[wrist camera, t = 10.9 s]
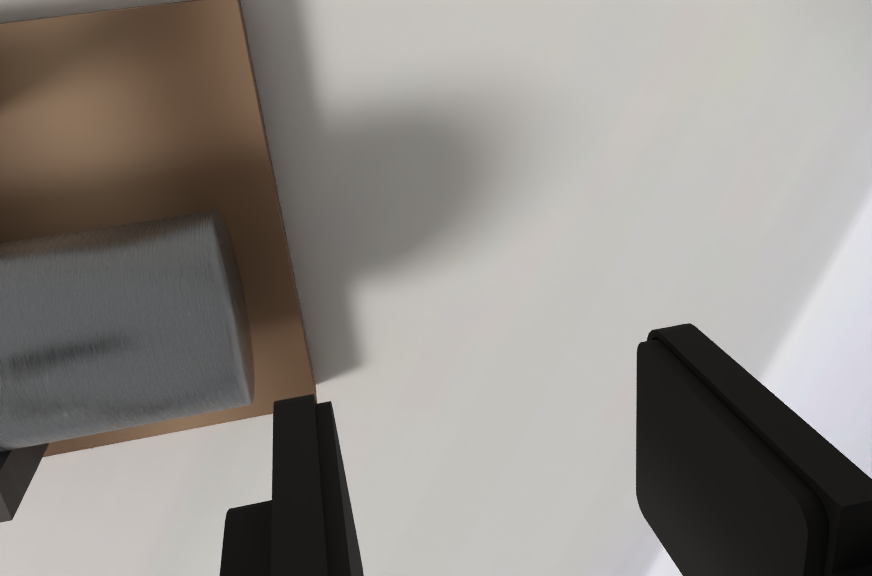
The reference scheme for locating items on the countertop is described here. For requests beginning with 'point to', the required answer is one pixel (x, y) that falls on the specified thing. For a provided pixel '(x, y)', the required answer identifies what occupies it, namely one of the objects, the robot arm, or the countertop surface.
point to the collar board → (148, 170)
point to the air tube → (121, 329)
